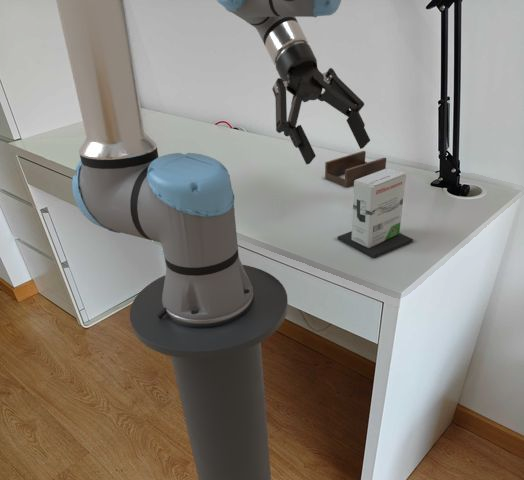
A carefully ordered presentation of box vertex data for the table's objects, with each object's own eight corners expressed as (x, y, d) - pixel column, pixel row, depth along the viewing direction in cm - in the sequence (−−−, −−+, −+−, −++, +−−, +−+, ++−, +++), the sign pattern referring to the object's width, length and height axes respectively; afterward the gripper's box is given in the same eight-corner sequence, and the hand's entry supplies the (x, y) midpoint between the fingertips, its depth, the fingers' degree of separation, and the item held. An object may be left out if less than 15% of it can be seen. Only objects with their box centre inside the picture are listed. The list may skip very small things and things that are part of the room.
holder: (346, 187, 117) (347, 170, 115) (324, 178, 122) (325, 162, 120) (384, 174, 122) (386, 158, 120) (362, 166, 127) (363, 150, 125)
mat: (373, 258, 90) (373, 255, 90) (337, 239, 97) (337, 236, 96) (412, 241, 94) (413, 239, 94) (375, 224, 101) (375, 221, 100)
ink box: (381, 226, 99) (387, 166, 91) (400, 234, 95) (408, 173, 88) (349, 240, 95) (352, 178, 88) (367, 249, 92) (373, 185, 84)
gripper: (332, 60, 105) (375, 149, 105) (231, 79, 95) (278, 177, 95) (350, 32, 98) (397, 127, 98) (243, 50, 88) (294, 156, 88)
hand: (339, 152), depth 96 cm, fingers open, 13 cm apart
